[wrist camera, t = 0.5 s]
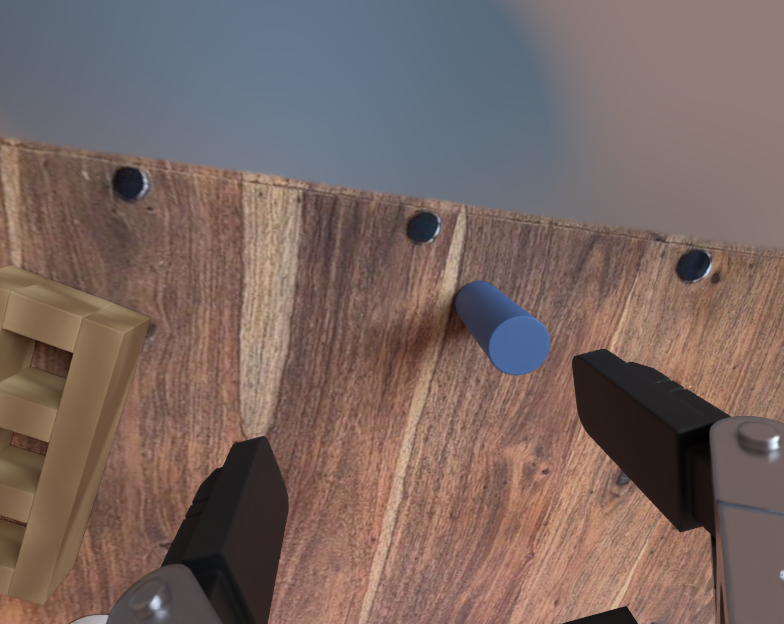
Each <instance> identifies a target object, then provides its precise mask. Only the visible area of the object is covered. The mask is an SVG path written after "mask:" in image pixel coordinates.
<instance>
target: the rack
mask: <svg viewBox="0 0 784 624" xmlns="http://www.w3.org/2000/svg"><path fill="white" fill-rule="evenodd" d="M150 320H151V317H149V316H146V315H144V314H141V313H138V312H136V311H133V310H130V309H128V308H125V307H122V306H120V305H117V304H114V303H112V302H109V301H106V300H104V299H101V298H98V297H96V296H93V295H90V294H88V293H85V292H82V291H80V290H77V289H74V288H72V287H69V286H66V285H64V284H61V283H58V282H56V281H53V280H50V279H48V278H45V277H43V276H40V275H37V274H34V273H32V272H29V271H26V270H24V269H21V268H18V267H16V266H13V265H11V266H7V267H2V268H0V515H1V516H4V517H7V518H11V519H14V520H18V521H21V522H25V523H27V522H28V523H27V526H23V525H20V524H16V523H13V522H10V521H6V520H3V519H0V594H3V595H8V596H11V597H14V598H18V599H22V600H26V601H29V602H33V603H37V604H41V605H43V604H44V603H45V602H46V601H47V600H48V598H49V597H50V596H51V594H52V593H53V592H54V591H55V589H56V588H57V587H58V586H59V584H60V583H61V582H62V581H63V579H64V578H65V577H66V576H67V574H68V573H69V572H70V571H71V569H72V568H73V567H74V565H75V562H76V558H77V555H78V552H79V549H80V546H81V542H82V539H83V536H84V533H85V529H86V526H87V523H88V520H89V517H90V513H91V510H92V507H93V504H94V501H95V497H96V494H97V491H98V488H99V484H100V481H101V478H102V475H103V472H104V468H105V465H106V462H107V459H108V455H109V452H110V449H111V446H112V443H113V439H114V436H115V433H116V430H117V427H118V423H119V420H120V417H121V414H122V410H123V407H124V404H125V401H126V398H127V394H128V391H129V388H130V385H131V382H132V378H133V375H134V372H135V369H136V365H137V362H138V359H139V356H140V353H141V349H142V346H143V343H144V340H145V336H146V333H147V330H148V327H149V324H150ZM36 340H37V341H40V342H43V343H46V344H49V345H52V346H54V347H57V348H60V349H63V350H66V351H69V352H71V353H73V352H74V353H73V357H72V361H71V364H70V368H69V372H68V375H67V379H65V378H62V377H59V376H56V375H53V374H51V373H48V372H45V371H42V370H39V369H36V368H33V367H30V363H31V359H32V355H33V351H34V347H35V343H36ZM13 432H17V433H20V434H23V435H26V436H29V437H32V438H35V439H38V440H42V441H45V442H49V445H48V449H47V453H46V456H44V455H41V454H38V453H34V452H31V451H28V450H25V449H22V448H19V447H15V446H12V445H10V444H11V440H12V436H13Z"/></svg>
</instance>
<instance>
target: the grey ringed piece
mask: <svg viewBox="0 0 784 624" xmlns="http://www.w3.org/2000/svg"><path fill="white" fill-rule="evenodd" d="M108 616H109V615H92V616H86V617H83V618H80V619H78V620H76V621H74V622H72V623H71V624H106V622H107V619H108Z"/></svg>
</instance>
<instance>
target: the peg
mask: <svg viewBox="0 0 784 624" xmlns="http://www.w3.org/2000/svg"><path fill="white" fill-rule="evenodd" d="M455 307H456V311H457V314H458V315H459V317H460V318H461V320H462V321H463V323H464V324H465V325H466V327H467V328H468V330H469V331H470V332H471V334H472V335H473V337H474V338H475V339H476V341H477V342H478V344H479V345H480V346H481V348H482V349H483V351H484V352H485V354H486V355H487V356H488V358H489V359H490V361H491V362H492V363H493V365H494V366H495V367H496V368H497V369H498V370H500V371H502V372H504V373H506V374H510V375H523V374H527V373H529V372H532V371H533V370H535V369H536V368H538V367H539V366H540V365H541V364H542V363H543V362H544V360H545V359H546V357H547V355H548V352H549V349H550V337H549V334H548V331H547V329H546V328H545V326H544V325H543V324H542V323H541V322H540V321H538V320H537V319H536V318H534V317H533V316H532V315H531V314H529V313H528V312H527V311H525V310H524V309H523V308H521V307H520V306H519V305H517V304H516V303H515V302H514V301H512V300H511V299H510V298H508V297H507V296H506V295H504V294H503V293H502V292H500V291H499V290H498V289H496V288H495V287H494V286H493V285H491V284H489V283H487V282H484V281H475V282H471V283H469V284H467V285H465V286H464V287H463V288H462V289H461V290H460V292H459V293H458V295H457V297H456V302H455Z"/></svg>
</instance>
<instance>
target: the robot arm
mask: <svg viewBox="0 0 784 624" xmlns="http://www.w3.org/2000/svg"><path fill="white" fill-rule="evenodd" d="M572 369H573V377H574V386H575V395H576V403H577V411H578V415H579V418H580V421H581V423H582V425H583V427H584V429H585V430H586V432H587V433H588V434H589V435H590V437H591V438H592V439H593V440H594V441H595V442H596V443H597V444H598V445H599V446H600V447H601V448H602V449H603V450H604V451H605V453H606V454H607V455H608V456H609V457H610V458H611V459H612V460H613V461H614V462H615V463H616V464H617V465H618V466H619V468H620V469H621V470H622V471H623V472H624V473H625V474H626V475H627V476H628V477H629V478H630V479H631V480H632V481H633V482H634V484H635V485H636V486H637V487H638V488H639V489H640V490H641V491H642V492H643V493H644V494H645V495H646V496H647V497H648V498H649V500H650V501H651V502H652V503H653V504H654V505H655V506H656V507H657V508H658V509H659V510H660V511H661V512H662V513H663V515H664V516H665V517H666V518H667V519H668V520H669V521H670V522H671V523H672V524H673V525H674V526H675V527H676V528H677V529H678V531H679V532H683V531H687V530H691V529H695V528H698V527H702V526H703V527H704V528H705V529H706V530H707V531H708V532H709V533H710V548H711V563H712V579H713V594H714V610H715V624H784V423H781V422H779V421H775V420H771V419H767V418H762V417H754V416H735V417H731V416H729V415H728V414H726V413H724V412H723V411H721V410H720V409H718V408H716V407H715V406H713V405H712V404H710V403H708V402H707V401H705V400H704V399H702V398H700V397H699V396H697V395H696V394H694V393H692V392H691V391H689V390H688V389H686V390H685V389H684V388H683V386H681V385H680V384H678V383H676V382H675V381H670V378H668V377H667V376H665V375H663V374H662V373H660V372H659V371H657V370H655V369H654V368H651V367H648V366H644V365H641V364H638V363H634V362H628V363H626V362H625V361H623V360H622V359H620V358H619V357H617V356H616V355H614V354H613V353H611V352H610V351H608V350H606V349H600V350H596V351H592V352H588V353H585V354H581V355H577V356H574V358H573V360H572ZM192 503H193V505H191V506H190V508H189V510H188V512H187V514H186V516H185V517H186V519H185V520H183V522H182V524H181V526H180V528H179V530H178V532H177V534H176V536H175V538H174V540H173V543H172V545H171V547H170V549H169V551H168V553H167V555H166V557H165V559H164V561H163V563H162V565H161V567H160V568H159V569H156V570H154V571H152V572H150V573H148V574H147V575H145V576H144V577H142V578H141V579H139V580H138V581H137V582H135V583H134V584H133V585H132V586H131V587H130V588H129V589H128V590H127V591H126V592H125V593H124V594H123V595H122V596H121V597H120V598H119V600H118V601H117V602H116V604H115V605H114V607H113V608H112V610H111V612H110V614H109V616H108V619H107V622H106V624H268V618H269V613H270V608H271V602H272V597H273V591H274V586H275V580H276V575H277V570H278V564H279V559H280V553H281V548H282V543H283V537H284V532H285V526H286V521H287V515H288V508H289V503H288V494H287V489H286V486H285V483H284V480H283V478H282V475H281V472H280V470H279V467H278V464H277V462H276V459H275V457H274V454H273V451H272V449H271V446H270V444H269V441H268V440H267V438H266V437H264V436H261V437H257V438H254V439H250V440H246V441H242V442H238V443H235V444H233V445H232V447H231V449H230V452H229V454H228V456H227V459H226V461H225V463H224V465H223V467H221V468H217V469H215V470H214V471H213V472H212V473H211V474H210V476H209V477H208V478H207V479H206V480H205V481H204V482H203V483H202V484H201V485H200V487H199V489H198V491H197V493H196V495H195V497H194V499H193V501H192ZM563 624H638V623H637V621H636V620H635V618H634V617H633V615H632V614H631V612H630V611H629V609H628V607H627V606H625V607H621V608H617V609H614V610H610V611H606V612H603V613H599V614H595V615H591V616H588V617H584V618H580V619H577V620H573V621H569V622H566V623H563Z"/></svg>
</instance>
